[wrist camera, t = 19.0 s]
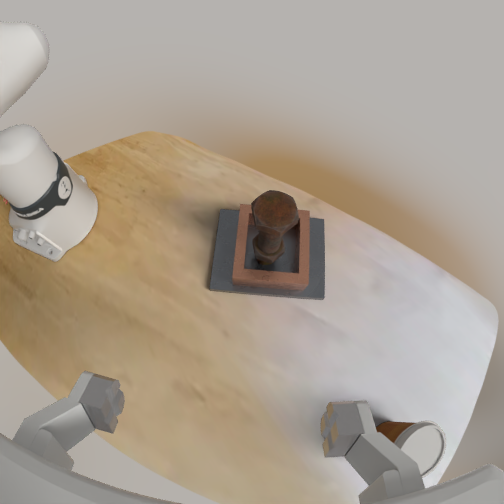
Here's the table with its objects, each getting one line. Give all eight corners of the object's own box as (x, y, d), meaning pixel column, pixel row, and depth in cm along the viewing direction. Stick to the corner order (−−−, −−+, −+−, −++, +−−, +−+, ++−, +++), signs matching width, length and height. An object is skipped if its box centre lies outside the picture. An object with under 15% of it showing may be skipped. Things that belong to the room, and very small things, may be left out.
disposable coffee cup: (387, 402, 40) (427, 409, 29) (417, 430, 38) (457, 441, 27) (349, 444, 38) (380, 465, 27) (381, 471, 36) (416, 493, 24)
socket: (210, 290, 46) (207, 282, 42) (220, 212, 51) (219, 196, 47) (322, 299, 47) (331, 292, 42) (322, 222, 52) (330, 208, 47)
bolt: (247, 243, 48) (249, 191, 34) (277, 238, 49) (290, 185, 35) (254, 277, 46) (258, 234, 32) (285, 271, 47) (303, 227, 33)
